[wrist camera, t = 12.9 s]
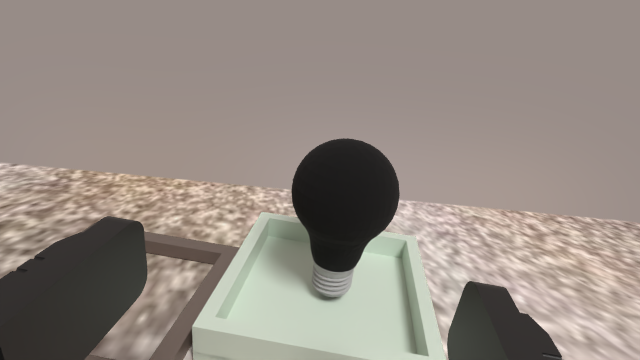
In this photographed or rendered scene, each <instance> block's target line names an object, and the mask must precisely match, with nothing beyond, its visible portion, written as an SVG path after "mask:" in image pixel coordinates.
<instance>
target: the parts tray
mask: <svg viewBox="0 0 640 360" xmlns="http://www.w3.org/2000/svg"><path fill="white" fill-rule="evenodd" d="M313 265H314V261H313V258H312V253H311V247H310V238H309V235H308V232H307V230H306V228H305V227H304V226H303V225H302V223H301V222H300V220H299V218H298V217H291V216H285V215H279V214H273V213H267V212H262V213H261V214H260V216H259V218H258V219H257V221H256V222H255V224H254V226H253V227H252V229H251V231H250V232H249V234H248V236H247V237H246V239H245V240H244V242H243V244H242V245H241V247H240V249H239V250H238V252H237V254H236V255H235V257H234V258H233V260H232V262H231V263H230V265H229V267H228V268H227V270H226V272H225V273H224V275H223V276H222V278H221V280H220V281H219V283H218V285H217V286H216V288H215V290H214V291H213V293H212V294H211V296H210V298H209V299H208V301H207V303H206V304H205V306H204V308H203V309H202V311H201V312H200V314H199V316H198V317H197V319H196V321H195V322H194V324H193V326H192V340H193V360H446V357H445V353H444V349H443V345H442V341H441V337H440V333H439V329H438V325H437V320H436V316H435V312H434V308H433V304H432V300H431V296H430V292H429V288H428V284H427V280H426V276H425V272H424V268H423V264H422V260H421V256H420V252H419V248H418V244H417V240H416V236H409V235H403V234H397V233H391V232H384V231H382V232H381V233H380V234H379V235H378V236H377V237H375V238H374V239H372V240H371V241H370V242H369V243H368V244H367V246H366V247H365V249H364V251H363V254H362V256H361V258H360V260H359V262H358V263H357V265H356V267H355V268H354V272H353V277H352V283H351V287H350V289H349V290H348V292H347V293H345V294H344V295H341V296H337V297H328V296H325V295H323V294H321V293H319V292H318V291H317V290H316V289H315V287H314V286H313V285H312V282H311V280H312V273H313Z"/></svg>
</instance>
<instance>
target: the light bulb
mask: <svg viewBox="0 0 640 360" xmlns="http://www.w3.org/2000/svg"><path fill="white" fill-rule="evenodd" d="M398 201H399V183H398V179H397V176H396V173H395V170H394V168H393V166H392V165H391V163H390V162H389V160H388V159H387V158H386V157H385V156H384V155H383V154H382V153H381V152H380V151H379V150H378V149H376V148H375V147H373V146H371V145H370V144H367V143H365V142H363V141H359V140H354V139H337V140H331V141H328V142H325V143H323V144H321V145H319V146H317V147H316V148H315V149H313V150H312V151H311V152H309V153H308V155H306V156H305V158H304V159H303V160H302V162H301V163H300V165H299V166H298V168H297V171H296V173H295V176H294V179H293V184H292V202H293V206H294V209H295V212H296V215H297V217H298V218H299V220H300V222H301V223H302V225H303V226H304V227H305V228H306V230H307V232H308V235H309V238H310V247H311V253H312V258H313V261H314V265H313V273H312V280H311V282H312V285H313V286H314V287H315V289H316V290H317V291H318V292H319V293H321V294H323V295H325V296H328V297H337V296H341V295H344V294H345V293H347V292H348V290H349V289H350V287H351V283H352V277H353V272H354V268H355V267H356V265H357V263H358V262H359V260H360V258H361V256H362V254H363V251H364V249H365V247H366V246H367V244H368V243H369V242H370V241H371V240H372V239H374V238H375V237H377V236H378V235H379V234H380V233H381V232H382V231H384V230H385V229H386V227H387V226H388V225H389V223H390V222H391V220H392V219H393V217H394V215H395V212H396V210H397V207H398Z"/></svg>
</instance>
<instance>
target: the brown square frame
mask: <svg viewBox="0 0 640 360" xmlns="http://www.w3.org/2000/svg"><path fill="white" fill-rule="evenodd" d="M94 224H95V223H94ZM94 224H93V225H94ZM91 226H92V225H91ZM91 226H90V227H91ZM90 227H88V228H90ZM88 228H87V229H88ZM87 229H85V230H87ZM85 230H84V231H85ZM84 231H82V232H84ZM144 236H145V248H146V253H152V254H158V255H164V256H169V257H175V258H181V259H187V260H192V261H198V262H204V263H210V264H214V265H213V267H212V268H211V270H210V271H209V273H208V274H207V276H206V277H205V279H204V280H203V282H202V283H201V285H200V286H199V288H198V289H197V290H196V292H195V293H194V295H193V296H192V298H191V299H190V301H189V302H188V304H187V305H186V307H185V308H184V310H183V311H182V312H181V314H180V315H179V317H178V318H177V320H176V321H175V323H174V324H173V326H172V327H171V329H170V330H169V332H168V333H167V335H166V336H165V337H164V339H163V340H162V342H161V343H160V345H159V346H158V348H157V349H156V351H155V352H154V354H153V355H152V357H151V358H150V359H149V360H183V358H184V356H185V355H186V353H187V351H188V350H189V348H190V346H191V344H192V343H193V340H192V326H193V324H194V322H195V321H196V319H197V317H198V316H199V314H200V312H201V311H202V309H203V308H204V306H205V304H206V303H207V301H208V299H209V298H210V296H211V294H212V293H213V291H214V290H215V288H216V286H217V285H218V283H219V281H220V280H221V278H222V276H223V275H224V273H225V272H226V270H227V268H228V267H229V265H230V263H231V262H232V260H233V258H234V257H235V255H236V254H237V252H238V250H239V249H240V248H238V247H232V246H226V245H221V244H215V243H209V242H203V241H197V240H191V239H185V238H179V237H173V236H167V235H161V234H156V233H150V232H144ZM84 360H114V359H109V358H104V357H99V356H94V355H88V356H87V357H86V358H85V359H84Z"/></svg>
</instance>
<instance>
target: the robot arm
mask: <svg viewBox="0 0 640 360" xmlns="http://www.w3.org/2000/svg"><path fill="white" fill-rule="evenodd" d="M146 280H147V260H146V248H145V236H144V228H143V225H142V224H141V223H140V222H139V221H133V220H128V219H122V218H116V217H111V216H107V217H104V218H103V219H101V220H100V221H98V222H97V223H95V224H94V225H92V226H91V227H90V228H88V229H87V230H85V231H84V232H80V233H78V234H75V235H73V236H70V237H67V238H65V239H62V240H60V241H57V242H55V243H54V244H52V245H51V246H49V247H48V248H46V249H45V250H43V251H42V252H40V253H39V254H37V255H36V256H35V258H34V259H30V260H28V261H27V262H25V263H24V264H22V265H21V266H19V267H18V268H17V270H16V271H12V272H10V273H9V274H7V275H6V276H4V277H3V278H1V279H0V360H84V359H85V358H86V357H87V356H88V355H89V354H90V352H91V351H92V350H93V349H94V348H95V347H96V346H97V344H98V343H99V342H100V341H101V340H102V339H103V338H104V336H105V335H106V334H107V333H108V332H109V331H110V329H111V328H112V327H113V326H114V325H115V324H116V323H117V321H118V320H119V319H120V318H121V317H122V316H123V315H124V313H125V312H126V311H127V310H128V309H129V308H130V307H131V305H132V304H133V303H134V302H135V301H136V300H137V298H138V297H139V296H140V294H141V293H142V291H143V289H144V286H145V284H146ZM447 349H448V358H449V360H562V358H561V357H562V356H561V354H560V352H559V351H558V349H557V347H556V346H555V344H554V343H553V341H552V339H551V338H550V336H549V334H548V333H547V332H546V331H545V330H544V329H543V328H542V327H541V326H539V325H538V324H537V323H536V322H535V321H534V320H533V319H532V318H531V317H530V316H529V315H528V314H524V313H520V312H519V310H518V309H517V307H516V305H515V303H514V301H513V299H512V298H511V296H510V294H509V292H508V291H507V289H506V288H504V287H501V286H495V285H489V284H484V283H478V282H473V281H469V282H468V283H467V284H466V286H465V288H464V290H463V293H462V296H461V298H460V301H459V304H458V307H457V310H456V312H455V315H454V318H453V321H452V324H451V326H450V329H449V333H448V342H447Z"/></svg>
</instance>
